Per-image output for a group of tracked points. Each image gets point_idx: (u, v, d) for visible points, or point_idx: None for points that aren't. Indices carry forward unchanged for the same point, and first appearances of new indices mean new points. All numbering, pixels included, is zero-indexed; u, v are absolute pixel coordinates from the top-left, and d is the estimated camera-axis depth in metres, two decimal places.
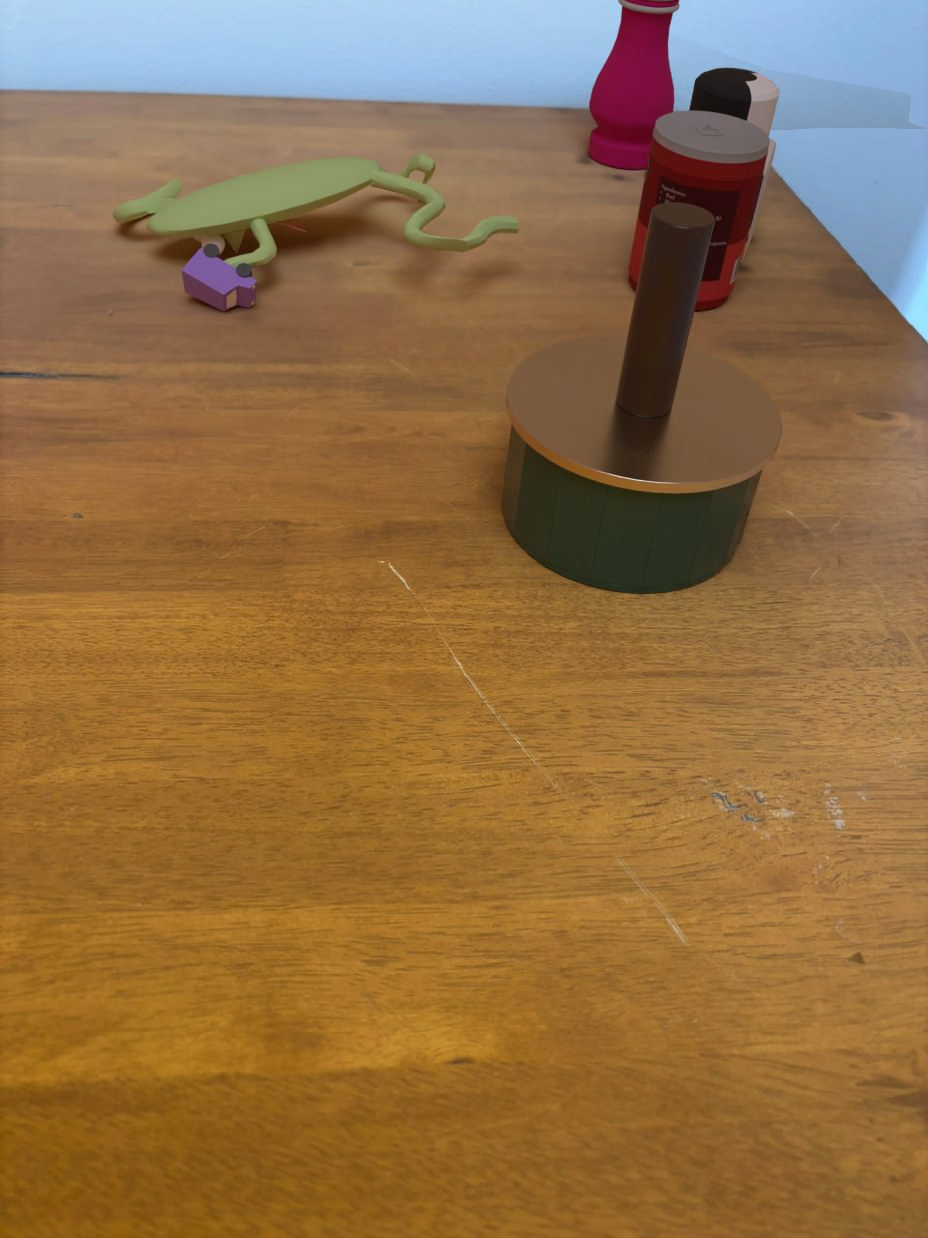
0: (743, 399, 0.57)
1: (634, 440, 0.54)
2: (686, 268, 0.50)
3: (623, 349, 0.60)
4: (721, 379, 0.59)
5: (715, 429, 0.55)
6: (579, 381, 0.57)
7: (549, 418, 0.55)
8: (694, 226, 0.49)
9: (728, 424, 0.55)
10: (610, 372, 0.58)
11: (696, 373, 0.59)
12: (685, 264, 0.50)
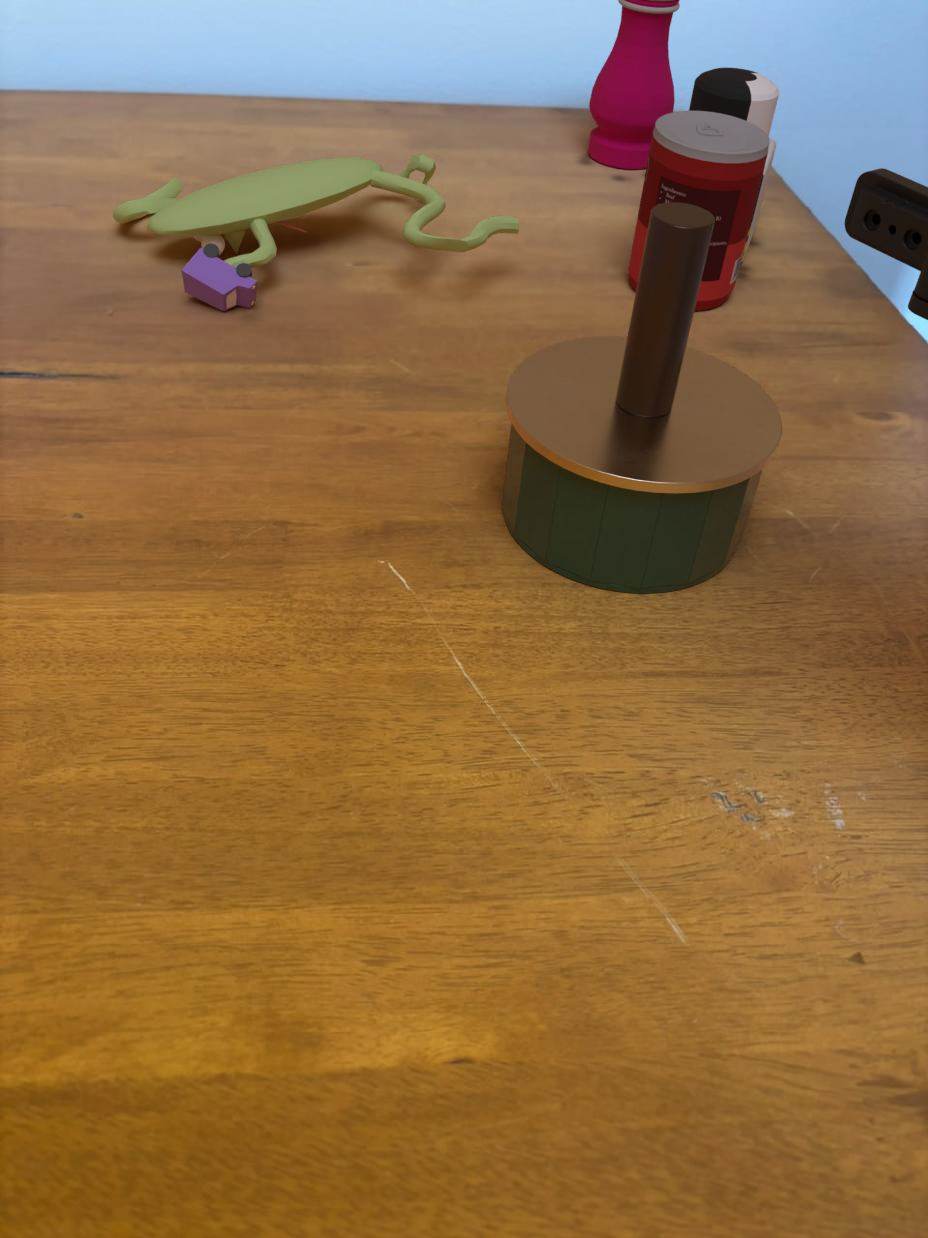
0: (743, 399, 0.57)
1: (634, 440, 0.54)
2: (686, 268, 0.50)
3: (623, 349, 0.60)
4: (721, 379, 0.59)
5: (715, 429, 0.55)
6: (579, 381, 0.57)
7: (549, 418, 0.55)
8: (694, 226, 0.49)
9: (728, 424, 0.55)
10: (610, 372, 0.58)
11: (696, 373, 0.59)
12: (685, 264, 0.50)
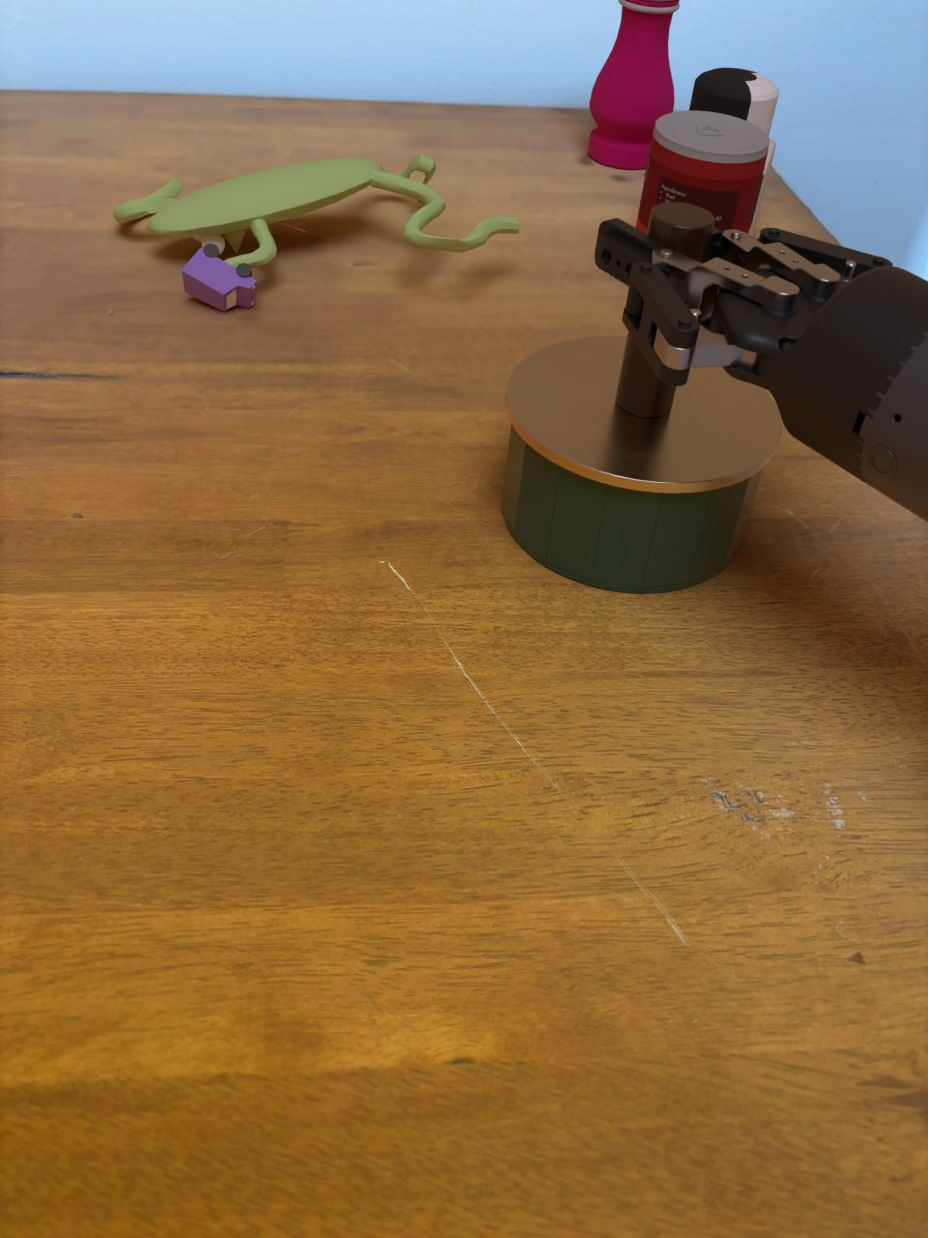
0: (743, 399, 0.57)
1: (633, 440, 0.54)
2: None
3: (623, 349, 0.60)
4: (721, 379, 0.59)
5: (715, 429, 0.55)
6: (578, 381, 0.57)
7: (549, 418, 0.55)
8: (694, 226, 0.49)
9: (727, 424, 0.55)
10: (610, 372, 0.58)
11: (696, 373, 0.59)
12: None
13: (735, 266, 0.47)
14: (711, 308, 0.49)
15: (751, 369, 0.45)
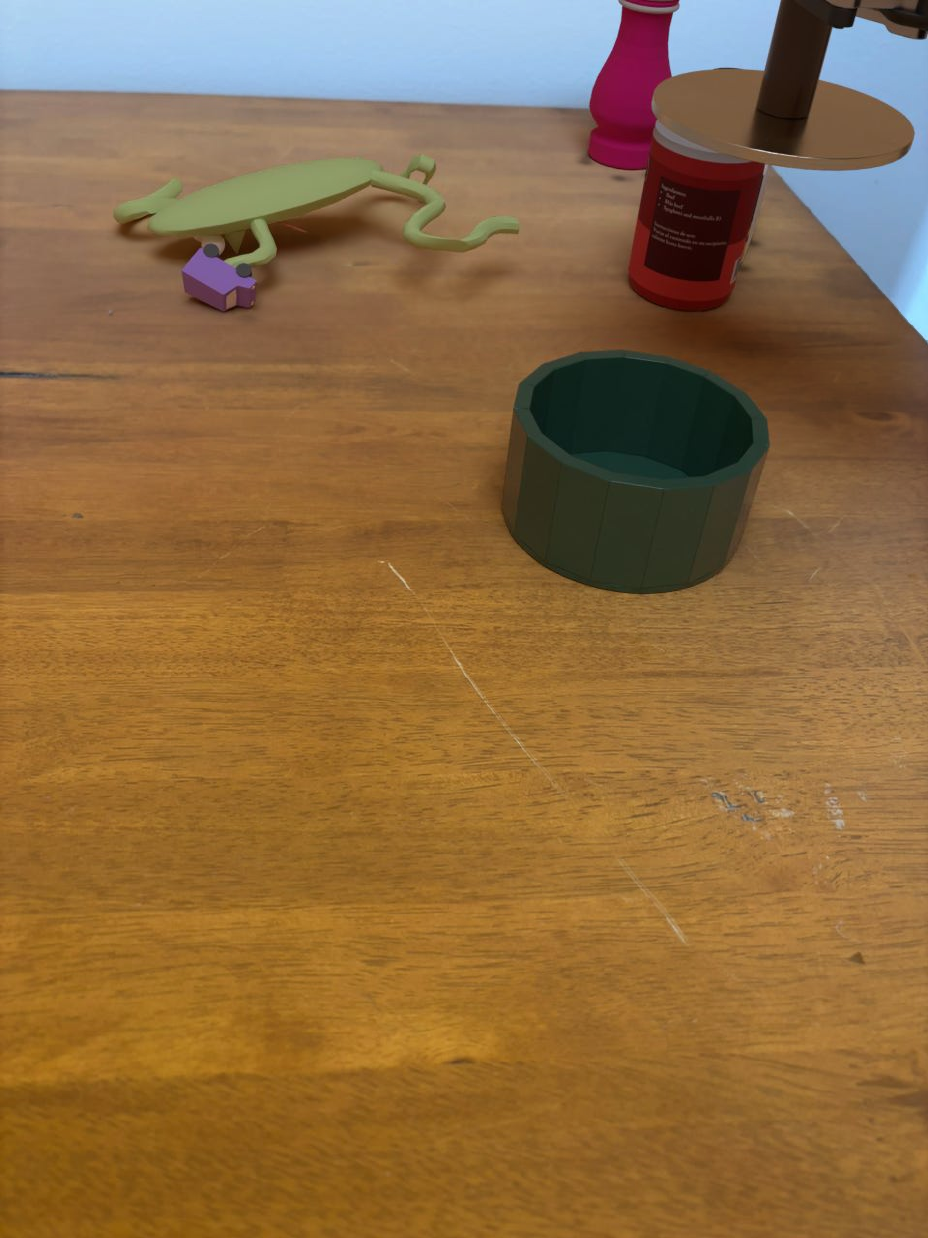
0: (874, 111, 0.61)
1: (779, 131, 0.57)
2: None
3: (755, 77, 0.64)
4: (850, 98, 0.62)
5: (853, 128, 0.59)
6: (719, 94, 0.61)
7: (698, 115, 0.58)
8: None
9: (864, 125, 0.59)
10: (746, 90, 0.62)
11: (826, 94, 0.62)
12: None
13: None
14: None
15: (913, 11, 0.49)
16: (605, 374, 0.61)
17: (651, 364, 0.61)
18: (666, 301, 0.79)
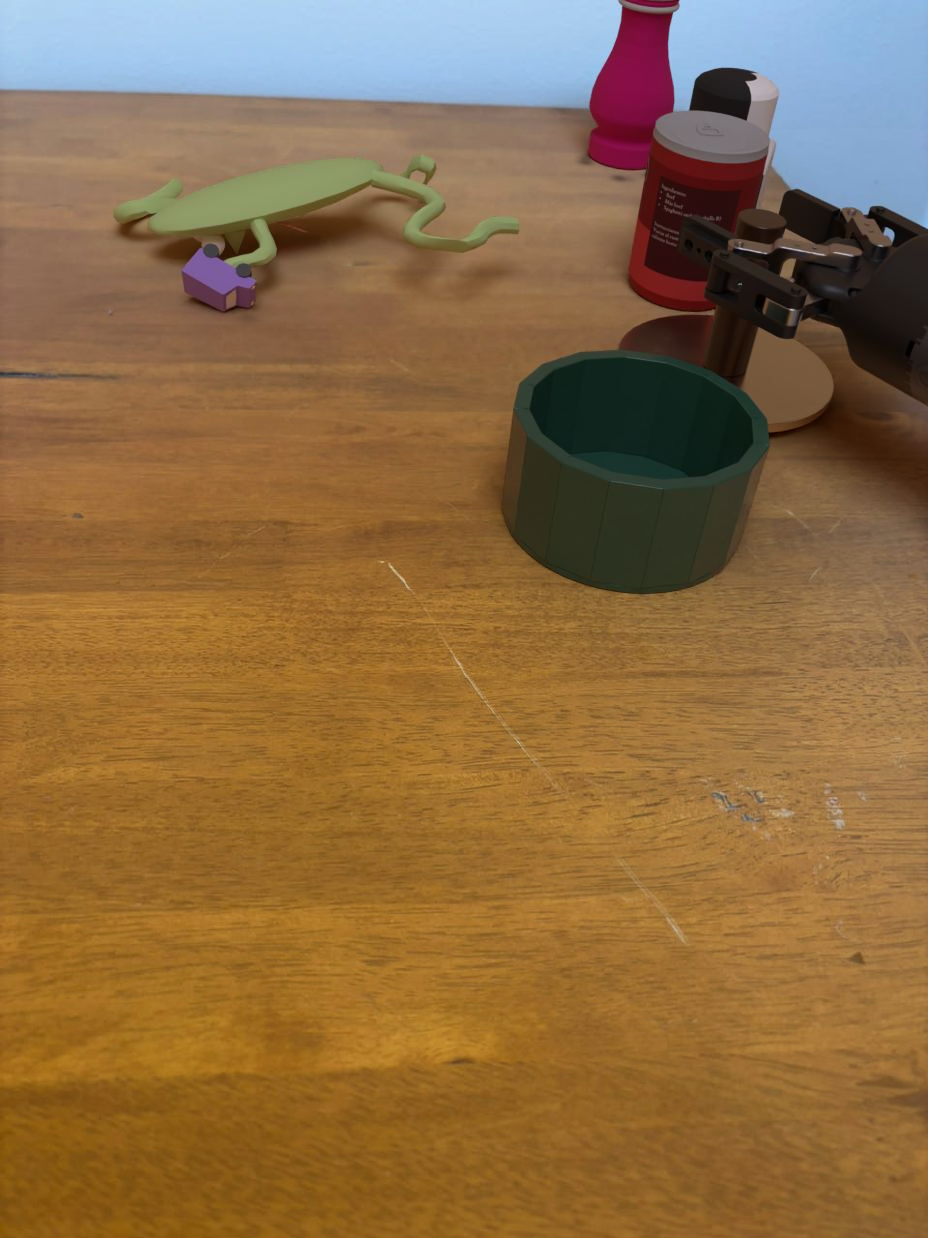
0: (802, 363, 0.73)
1: None
2: None
3: (704, 325, 0.76)
4: (783, 348, 0.74)
5: (782, 385, 0.70)
6: (672, 349, 0.73)
7: None
8: (772, 227, 0.65)
9: (791, 382, 0.71)
10: (696, 342, 0.74)
11: (763, 343, 0.74)
12: None
13: (800, 242, 0.61)
14: None
15: (826, 312, 0.60)
16: (605, 374, 0.61)
17: (651, 364, 0.61)
18: (666, 301, 0.79)
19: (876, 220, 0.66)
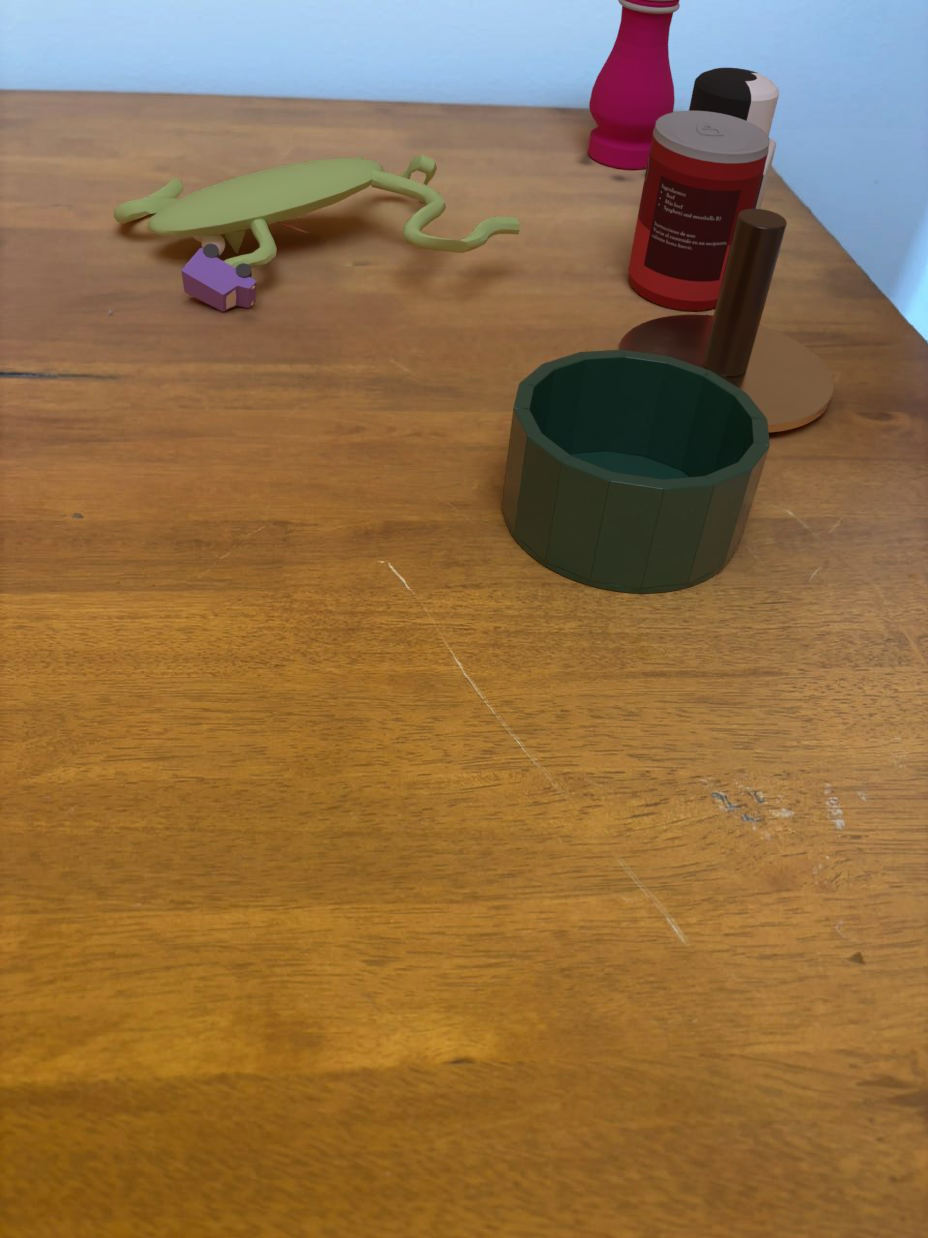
0: (802, 363, 0.73)
1: None
2: (765, 259, 0.66)
3: (704, 325, 0.76)
4: (783, 348, 0.74)
5: (782, 385, 0.70)
6: (672, 349, 0.73)
7: None
8: (772, 227, 0.65)
9: (791, 382, 0.71)
10: (696, 342, 0.74)
11: (763, 343, 0.74)
12: (764, 256, 0.66)
13: None
14: None
15: None
16: (605, 374, 0.61)
17: (651, 364, 0.61)
18: (666, 301, 0.79)
19: None
